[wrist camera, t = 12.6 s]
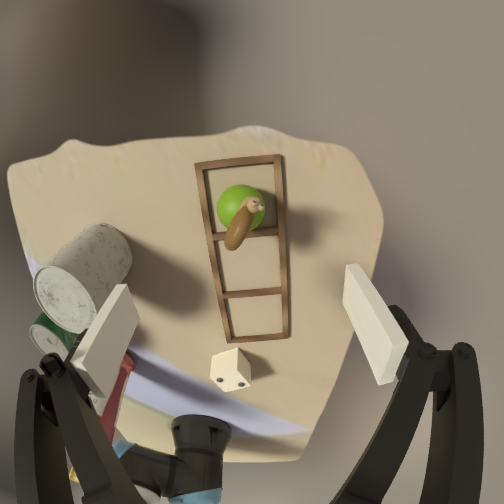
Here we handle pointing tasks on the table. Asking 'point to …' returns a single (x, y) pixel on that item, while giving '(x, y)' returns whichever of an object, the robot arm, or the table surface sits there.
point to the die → (230, 370)
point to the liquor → (111, 402)
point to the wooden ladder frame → (252, 233)
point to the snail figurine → (240, 213)
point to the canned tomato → (52, 337)
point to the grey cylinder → (82, 276)
